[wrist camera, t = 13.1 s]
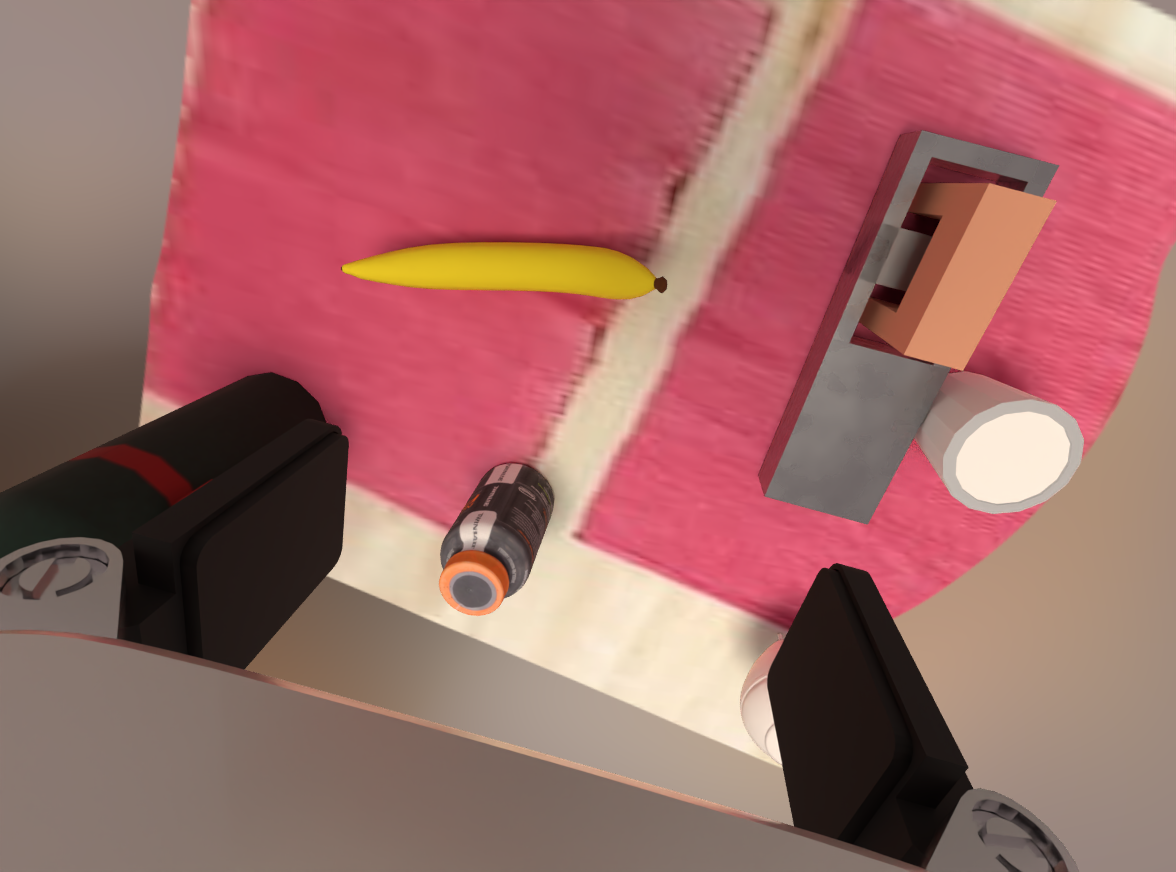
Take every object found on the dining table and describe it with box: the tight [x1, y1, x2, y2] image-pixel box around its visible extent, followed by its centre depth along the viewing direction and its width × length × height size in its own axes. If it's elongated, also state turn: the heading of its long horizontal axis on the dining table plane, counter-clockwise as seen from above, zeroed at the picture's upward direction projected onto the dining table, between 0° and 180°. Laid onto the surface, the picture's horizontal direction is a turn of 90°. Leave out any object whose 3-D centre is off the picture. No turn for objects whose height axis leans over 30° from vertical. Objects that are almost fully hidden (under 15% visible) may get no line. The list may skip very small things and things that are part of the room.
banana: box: [341, 242, 667, 299], centre depth 34 cm, size 3×19×6 cm, turn 89°
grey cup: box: [914, 371, 1084, 514], centre depth 34 cm, size 7×7×7 cm
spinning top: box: [740, 633, 784, 765], centre depth 41 cm, size 8×8×12 cm
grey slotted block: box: [758, 130, 1059, 524], centre depth 35 cm, size 22×7×3 cm, turn 167°
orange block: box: [859, 183, 1057, 371], centre depth 30 cm, size 8×3×8 cm, turn 166°
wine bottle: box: [0, 372, 326, 559], centre depth 30 cm, size 8×10×30 cm
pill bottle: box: [439, 463, 554, 616], centre depth 39 cm, size 6×6×11 cm
